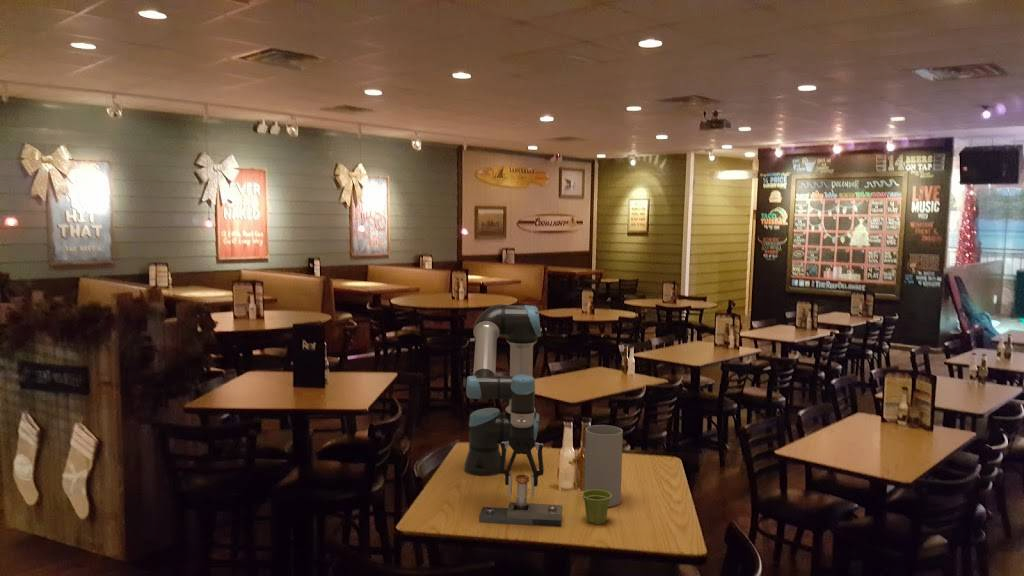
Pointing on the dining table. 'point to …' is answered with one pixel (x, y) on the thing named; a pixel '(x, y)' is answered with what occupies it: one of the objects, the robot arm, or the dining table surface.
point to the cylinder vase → (604, 460)
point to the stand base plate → (523, 515)
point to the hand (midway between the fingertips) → (521, 495)
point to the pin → (522, 491)
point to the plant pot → (596, 505)
